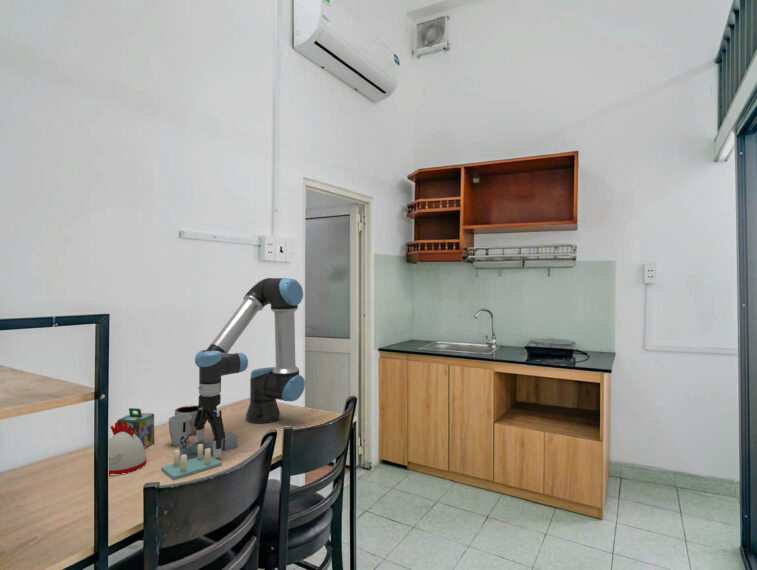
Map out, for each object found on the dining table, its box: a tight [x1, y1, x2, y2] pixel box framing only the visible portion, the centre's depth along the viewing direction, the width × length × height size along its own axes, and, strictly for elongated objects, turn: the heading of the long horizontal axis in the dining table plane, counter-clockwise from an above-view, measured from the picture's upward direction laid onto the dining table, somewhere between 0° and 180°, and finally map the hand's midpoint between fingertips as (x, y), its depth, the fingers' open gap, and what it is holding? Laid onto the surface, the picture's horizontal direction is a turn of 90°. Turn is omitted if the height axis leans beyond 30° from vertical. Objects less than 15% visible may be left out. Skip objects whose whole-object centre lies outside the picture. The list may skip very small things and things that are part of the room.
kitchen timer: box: [108, 421, 147, 476], centre depth 147 cm, size 14×14×15 cm
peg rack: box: [161, 444, 223, 481], centre depth 147 cm, size 16×10×6 cm, turn 136°
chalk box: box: [116, 407, 155, 449], centre depth 165 cm, size 9×9×15 cm
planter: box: [174, 405, 198, 437], centre depth 182 cm, size 11×11×10 cm
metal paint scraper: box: [179, 432, 239, 461], centre depth 161 cm, size 20×5×6 cm, turn 136°
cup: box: [168, 415, 192, 447], centre depth 169 cm, size 8×8×10 cm
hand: (208, 452), depth 161 cm, fingers open, 13 cm apart
